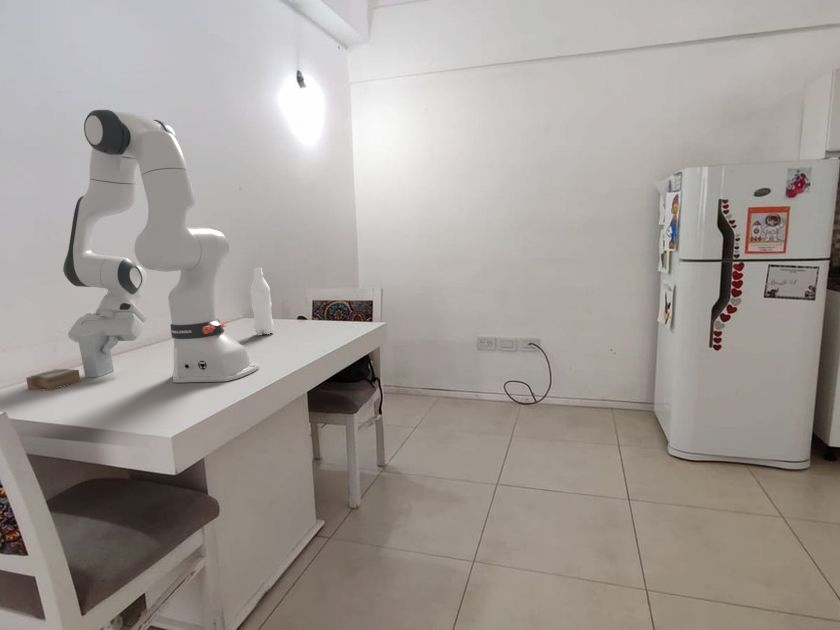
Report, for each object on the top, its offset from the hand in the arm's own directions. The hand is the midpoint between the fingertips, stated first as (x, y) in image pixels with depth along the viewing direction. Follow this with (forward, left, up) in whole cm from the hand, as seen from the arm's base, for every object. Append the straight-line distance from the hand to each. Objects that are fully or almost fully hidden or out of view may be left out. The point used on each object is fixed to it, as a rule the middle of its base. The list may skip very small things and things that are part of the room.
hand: (94, 352), depth 135 cm
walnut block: (+4, +9, -6) cm, 12 cm away
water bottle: (-16, -56, -7) cm, 58 cm away
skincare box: (0, -1, -7) cm, 7 cm away
